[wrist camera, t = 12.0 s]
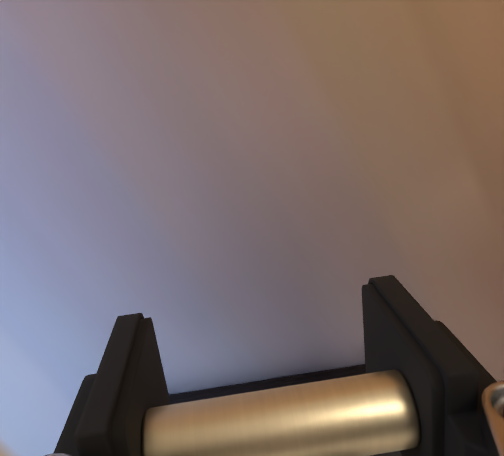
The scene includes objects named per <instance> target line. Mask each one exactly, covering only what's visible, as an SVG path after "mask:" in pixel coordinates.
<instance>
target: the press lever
mask: <svg viewBox="0 0 504 456" xmlns="http://www.w3.org/2000/svg"><path fill="white" fill-rule="evenodd" d="M420 437H421V430H420V420H419V414H418V410H417V406H416V402H415V399H414V396H413V393H412V391H411V388H410V386H409V384H408V382H407V380H406V378H405V377H404V375H403V374H402V373H401V372H400V371H398V370H394V369H393V370H387V371H381V372H374V373H368V374H362V375H355V376H349V377H343V378H336V379H330V380H324V381H317V382H311V383H305V384H298V385H292V386H286V387H279V388H273V389H267V390H260V391H254V392H248V393H241V394H235V395H229V396H222V397H216V398H210V399H203V400H197V401H191V402H184V403H178V404H172V405H165V406H159V407H153V408H149V409H148V410H146V412H145V414H144V418H143V422H142V431H141V452H142V456H370V455H376V454H382V453H388V452H394V451H400V450H406V449H412V448H415V447H417V446H418V445H419V443H420Z"/></svg>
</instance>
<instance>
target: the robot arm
mask: <svg viewBox="0 0 504 456" xmlns="http://www.w3.org/2000/svg"><path fill="white" fill-rule="evenodd" d="M362 305H363V325H364V345H365V365H366V374H368V373H374V372H381V371H387V370H393V369H394V370H398V371H400V372H401V373H402V374H403V375H404V377H405V378H406V380H407V382H408V384H409V386H410V388H411V391H412V393H413V396H414V399H415V402H416V406H417V410H418V414H419V420H420V430H421V437H420V443H419V445H418V446H417V447H415V448H412V449H406V450H400V452H401V454H402V456H504V381H499V382H497V381H496V380H495V379H494V378H493V377H492V376H491V375H490V374H489V373H488V372H487V371H486V369H485V368H484V367H483V366H482V365H481V364H480V363H479V362H478V361H477V360H476V359H475V357H474V356H473V355H472V354H471V353H470V352H469V351H468V350H467V349H466V348H465V347H464V346H463V344H462V343H461V342H460V341H459V340H458V339H457V338H456V337H455V336H454V335H453V334H452V333H451V331H450V330H449V329H448V328H447V327H446V326H445V325H444V324H443V323H442V322H440V321H434V320H433V319H432V318H431V317H430V316H429V315H428V313H427V312H426V311H425V310H424V309H423V308H422V307H421V306H420V305H419V303H418V302H417V301H416V300H415V299H414V298H413V297H412V296H411V294H410V293H409V292H408V291H407V290H406V289H405V288H404V287H403V286H402V284H401V283H400V282H399V281H398V280H397V279H396V278H395V277H394V276H393V275H389V276H382V277H376V278H370V279H369V283H368V285H363V286H362ZM165 405H171V404H170V399H169V395H168V390H167V386H166V381H165V377H164V372H163V367H162V363H161V358H160V354H159V349H158V345H157V340H156V335H155V331H154V326H153V322H152V319H151V318H144V317H143V314H142V313H137V314H130V315H124V316H118V317H117V319H116V322H115V325H114V328H113V330H112V333H111V336H110V338H109V341H108V344H107V347H106V349H105V352H104V355H103V357H102V360H101V363H100V366H99V368H98V371H97V374H90V375H87V376H85V378H84V380H83V382H82V384H81V387H80V389H79V391H78V394H77V396H76V399H75V401H74V404H73V406H72V409H71V411H70V414H69V416H68V419H67V421H66V424H65V426H64V429H63V431H62V434H61V436H60V438H59V441H58V443H57V446H56V448H55V451H54V453H53V454H49V455H45V456H142V452H141V431H142V422H143V418H144V414H145V412H146V410H148V409H149V408H153V407H159V406H165Z"/></svg>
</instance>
